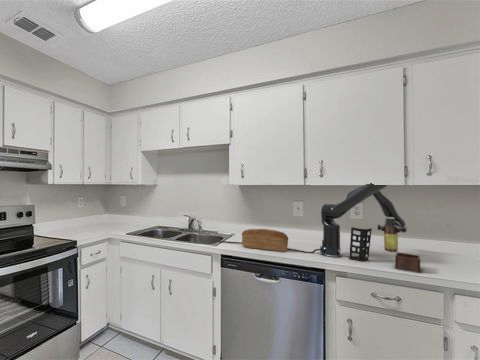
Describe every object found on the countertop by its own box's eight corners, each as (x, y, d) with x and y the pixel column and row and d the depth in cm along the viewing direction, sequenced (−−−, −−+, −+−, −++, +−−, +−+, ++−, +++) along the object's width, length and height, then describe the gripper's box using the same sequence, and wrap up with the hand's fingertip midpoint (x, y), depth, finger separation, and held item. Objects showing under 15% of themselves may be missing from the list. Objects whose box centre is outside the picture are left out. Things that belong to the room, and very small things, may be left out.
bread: (243, 244, 200) (243, 226, 200) (288, 249, 185) (288, 230, 185) (240, 247, 189) (240, 228, 190) (287, 253, 175) (287, 232, 175)
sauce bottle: (400, 252, 155) (400, 219, 155) (388, 252, 156) (388, 218, 156) (392, 249, 162) (393, 217, 161) (381, 249, 163) (381, 217, 163)
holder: (363, 257, 165) (365, 226, 163) (373, 262, 158) (376, 229, 156) (346, 257, 165) (348, 226, 163) (355, 262, 157) (357, 229, 155)
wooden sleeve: (395, 268, 144) (395, 255, 144) (396, 264, 152) (396, 252, 152) (420, 273, 137) (420, 259, 138) (420, 268, 145) (420, 255, 145)
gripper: (378, 219, 174) (374, 222, 162) (408, 221, 164) (406, 225, 152) (378, 230, 174) (374, 234, 162) (408, 233, 164) (406, 238, 152)
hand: (390, 230), depth 157 cm, fingers closed on sauce bottle, 6 cm apart
